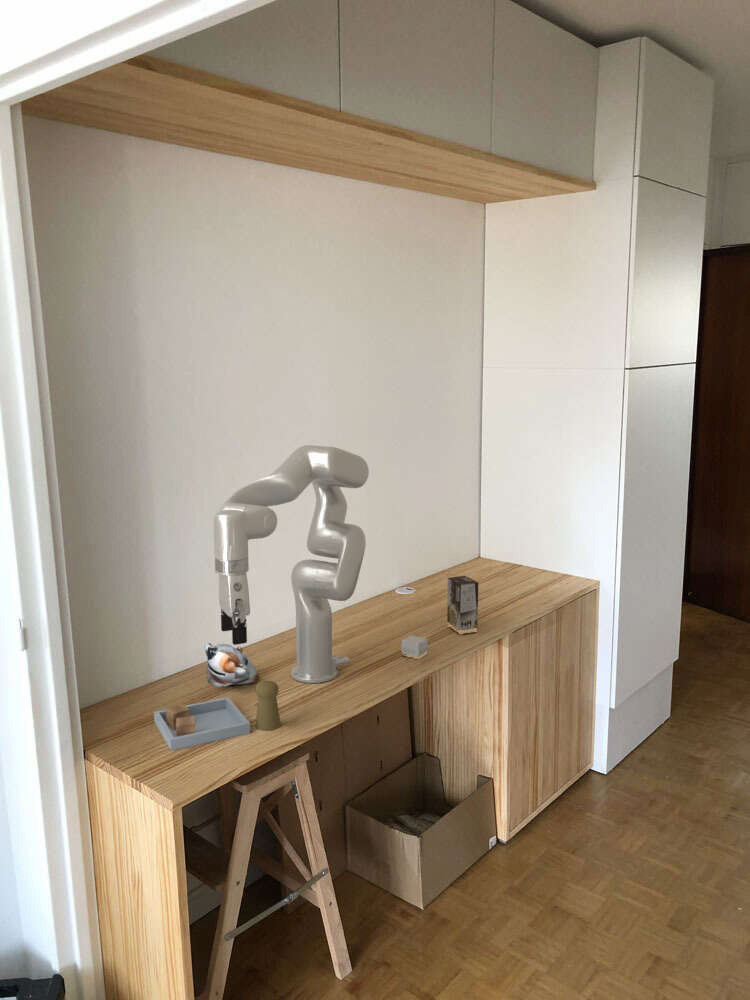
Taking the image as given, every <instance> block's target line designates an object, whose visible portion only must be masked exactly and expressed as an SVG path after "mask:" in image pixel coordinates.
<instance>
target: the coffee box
mask: <svg viewBox="0 0 750 1000" xmlns="http://www.w3.org/2000/svg"><path fill="white" fill-rule="evenodd" d="M479 584H480V583H479V581H476V580H474V579H473V578H470V577H469V576H466V575H460V576H453V577H447V602H446V603H447V608H446V611H447V613H446V614H447V615H446V616H447V618H446V619H447V620H446V621H447V622H449V623H450V624H451V625H453V626H454V627H456V628H457V629H459V630H468V629H473V628H477V629H478V617H479V616H478V615H479V614H478V612H479V611H478V609H479Z"/></svg>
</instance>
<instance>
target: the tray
mask: <svg viewBox="0 0 750 1000" xmlns="http://www.w3.org/2000/svg"><path fill="white" fill-rule="evenodd" d="M184 706H185V707H187V708H188V709H189V712H190V717H192V716H195V733H192V734H188V735H183V736H178V737H177V734H176V730H173V729H171V728H170V727H169V726H168V725H167V720H166V708H165V709H161V710H156V711H153V719H154V723H155V725H156V727H157V728H158V730H159V732H160V733H161V736H162V738H163V739H164V741H165V743H166V745H167V746H168V748H169V750H170V752H171V751H177V750H181V749H185V748H190V747H196V746H198V745H199V746H200V745H203V744H207V743H208V744H209V743H212V742H218V741H222V740H226V739H231V738H235V737H239V736H245V735H248V734H251V723H250V721H249V720H248V719H247V718H246V716H245V715H244V714H243V712H241V710H240V709H239V708H238V706H237V705H236V704H235V703H234V701H232V699H231V698H230V697H229V696H227V697H221V698H217V699H212V700H207V701H201V702H196V703H192V704H191V703H190V704H188V705H187V704H186V705H184Z"/></svg>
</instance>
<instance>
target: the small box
mask: <svg viewBox="0 0 750 1000" xmlns="http://www.w3.org/2000/svg"><path fill="white" fill-rule="evenodd" d="M428 639H429V638H425V637H420V636H416V635H410V636H407V637H405V638H403V639H402V640H401V653H403V654H407V655H412V656H415V657H419V656H420V655H422V654H424V653H425V652H426V651H429V650H428V647H429V645H428V644H429V640H428Z"/></svg>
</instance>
